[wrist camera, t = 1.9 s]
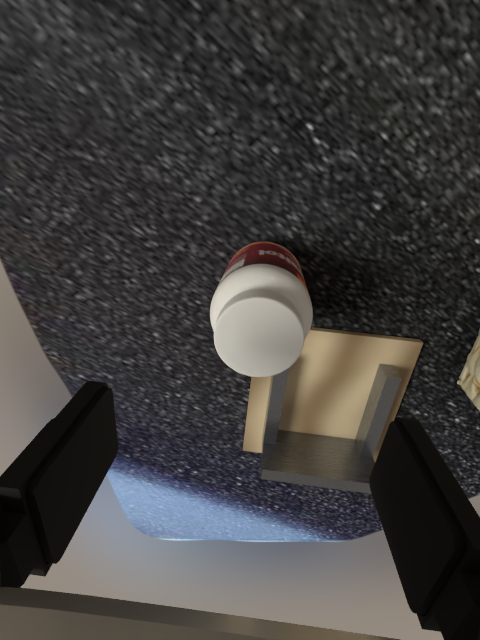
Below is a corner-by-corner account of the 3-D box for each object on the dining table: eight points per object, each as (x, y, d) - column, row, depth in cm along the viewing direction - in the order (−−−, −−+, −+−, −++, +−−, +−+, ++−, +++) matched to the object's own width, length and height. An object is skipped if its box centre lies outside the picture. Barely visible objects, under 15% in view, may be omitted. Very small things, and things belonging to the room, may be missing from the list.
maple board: (420, 339, 27) (423, 342, 27) (374, 463, 34) (375, 467, 33) (258, 321, 28) (258, 324, 27) (243, 445, 34) (242, 450, 34)
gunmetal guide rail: (393, 365, 28) (417, 402, 23) (364, 449, 32) (379, 494, 28) (275, 351, 28) (276, 385, 24) (262, 436, 33) (260, 478, 28)
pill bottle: (317, 275, 26) (347, 339, 16) (265, 325, 28) (263, 409, 18) (261, 222, 24) (254, 256, 14) (211, 279, 27) (176, 342, 17)
